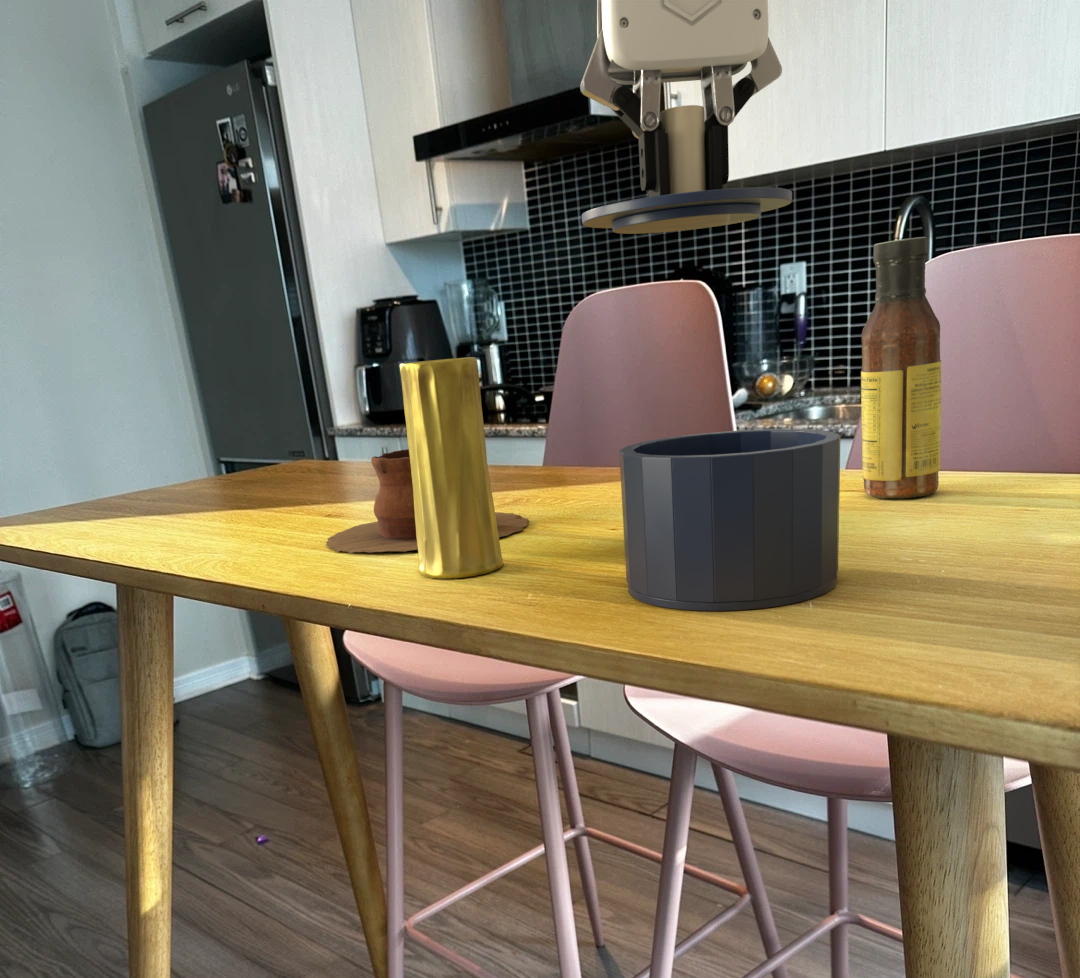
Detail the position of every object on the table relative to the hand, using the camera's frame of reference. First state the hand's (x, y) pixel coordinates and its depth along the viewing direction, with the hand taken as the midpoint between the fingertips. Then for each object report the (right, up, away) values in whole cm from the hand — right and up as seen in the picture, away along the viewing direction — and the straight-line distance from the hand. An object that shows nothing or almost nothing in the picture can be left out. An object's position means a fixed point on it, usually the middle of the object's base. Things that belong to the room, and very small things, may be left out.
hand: (685, 197), depth 68 cm
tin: (+2, -26, -5) cm, 27 cm away
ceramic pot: (-19, -18, +22) cm, 34 cm away
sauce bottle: (+21, -16, +20) cm, 33 cm away
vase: (-15, -24, +6) cm, 29 cm away
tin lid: (0, -1, 0) cm, 1 cm away
